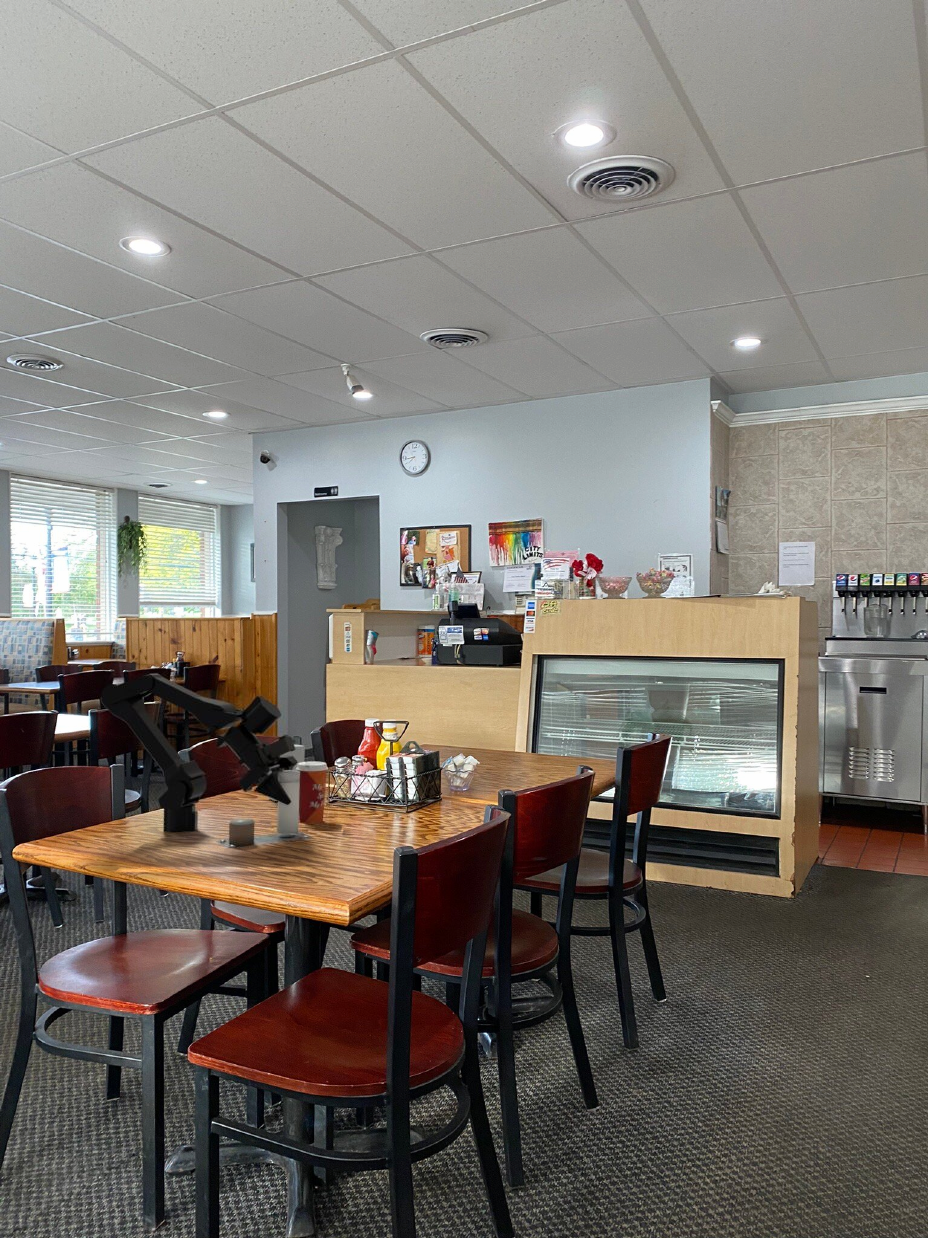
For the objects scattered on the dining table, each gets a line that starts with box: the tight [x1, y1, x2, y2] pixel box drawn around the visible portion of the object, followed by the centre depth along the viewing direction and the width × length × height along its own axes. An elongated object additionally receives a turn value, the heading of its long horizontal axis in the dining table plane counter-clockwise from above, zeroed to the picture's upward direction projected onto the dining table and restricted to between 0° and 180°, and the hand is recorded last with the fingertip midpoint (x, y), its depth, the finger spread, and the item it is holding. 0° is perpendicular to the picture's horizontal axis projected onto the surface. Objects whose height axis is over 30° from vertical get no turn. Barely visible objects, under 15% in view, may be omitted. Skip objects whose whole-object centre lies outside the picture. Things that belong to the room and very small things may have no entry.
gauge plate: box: [215, 830, 314, 849], centre depth 191 cm, size 19×8×1 cm, turn 125°
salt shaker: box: [276, 770, 300, 834], centre depth 195 cm, size 5×5×13 cm
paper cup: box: [296, 761, 329, 824], centre depth 215 cm, size 8×8×14 cm
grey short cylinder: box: [228, 817, 255, 845], centre depth 188 cm, size 5×5×4 cm
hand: (294, 801), depth 194 cm, fingers closed on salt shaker, 4 cm apart
